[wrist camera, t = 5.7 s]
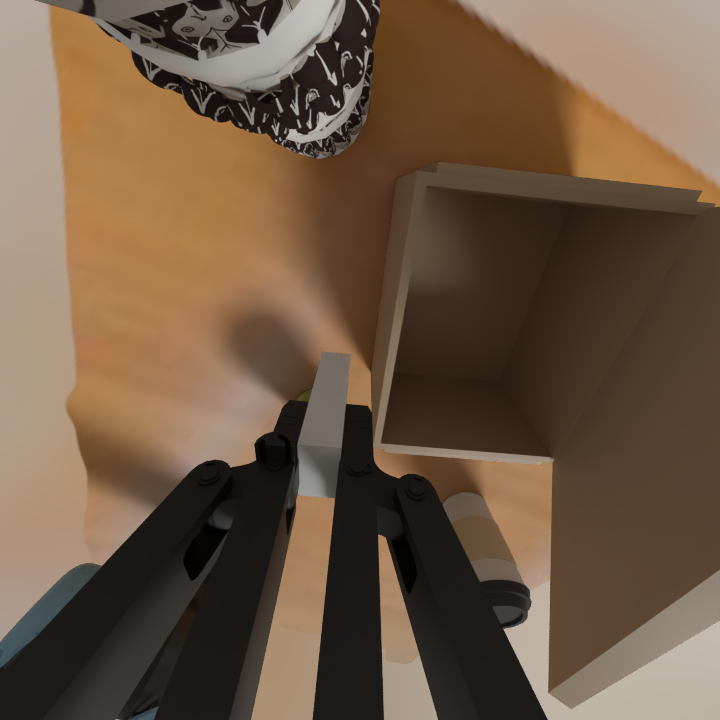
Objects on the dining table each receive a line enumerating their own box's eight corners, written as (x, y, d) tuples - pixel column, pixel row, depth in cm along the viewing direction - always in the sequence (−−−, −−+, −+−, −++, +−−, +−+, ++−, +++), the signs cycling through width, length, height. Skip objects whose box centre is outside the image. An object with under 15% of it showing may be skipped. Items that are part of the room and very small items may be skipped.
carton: (370, 375, 36) (372, 452, 25) (397, 171, 25) (419, 159, 15) (499, 387, 36) (553, 466, 26) (578, 191, 26) (722, 193, 15)
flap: (548, 693, 13) (571, 709, 13) (1238, 197, 3) (1416, 207, 3) (552, 461, 25) (564, 466, 25) (708, 207, 16) (731, 209, 15)
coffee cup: (465, 479, 45) (505, 597, 32) (504, 502, 48) (556, 620, 35) (424, 508, 49) (445, 624, 36) (463, 528, 51) (496, 642, 38)
